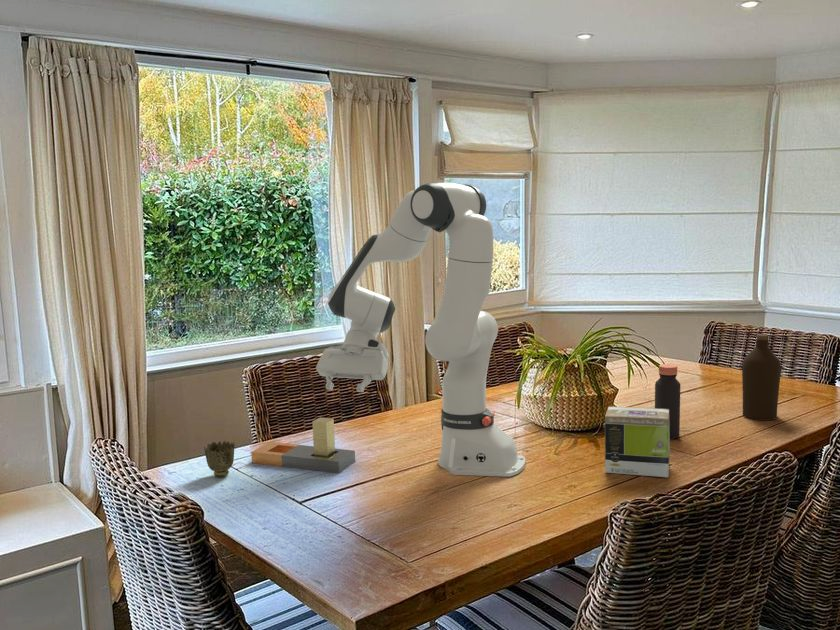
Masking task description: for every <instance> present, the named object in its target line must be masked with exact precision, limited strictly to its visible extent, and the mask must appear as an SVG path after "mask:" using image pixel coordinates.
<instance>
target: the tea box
mask: <svg viewBox="0 0 840 630" xmlns="http://www.w3.org/2000/svg"><path fill="white" fill-rule="evenodd" d="M670 440H671V439H669V409H657V408H655V407H654V408H653V407H636V406H635V407H633V406H631V407H630V406H612V405H611V406H608V407H607V410H606V413H605V415H604V467H605V468H604V469H605V473H608V474H620V475H631V476H632V475H633V476H646V477H658V478H668V479H669V474H670V473H669V472H670Z"/></svg>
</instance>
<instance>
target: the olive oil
mask: <svg viewBox="0 0 840 630" xmlns="http://www.w3.org/2000/svg"><path fill="white" fill-rule="evenodd" d="M741 373H742V376H741V377H742V383H741V384H742V416H743V417H745V418H747V419H750V420H753V421H754V420H755V421H772V420H775V419H777V416H778V404H779V394H780V393H779V391H780V385H781V384H780V382H781V374H782V365H781V362H780V359H779V358H778V356H777V355H776V354H775V353H774V352H773V351H772V350H771V348H769V334H767V333H759V334H758V333H757V334H756V339H755V347H754V348H753V349H752V350H751V351H750V352H748V354H747V355H745V357H744V359H743V361H742V364H741Z"/></svg>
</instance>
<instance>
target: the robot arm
mask: <svg viewBox="0 0 840 630" xmlns="http://www.w3.org/2000/svg"><path fill="white" fill-rule="evenodd" d="M486 210H487V200H486V196H485V195H484V193H483V192H482V191H481V190H480V189H479V188H478V187H475V186H473V185H471V184H460V183H455V182H451V181H449V182H447V181H445V182H444V181H443V182H428V183H427V182H426V183H424V184H421V185H420V186H418V187H417V188H416V189H413V190H410V191H409V192H407V193H406V194H405V195H404V196H403V197H402V200H401V201H400V202H399V204H398V206H397V208H396V209H395V211H394V213H393V214H392V217H391V219H390V221H389V224H388V225H387V227H386V228H385V229H384V230H383V231H382V232H380V233H378V234H372V235H371V236H369V238H368V239H367V240H366V241H365V243H364V245H362V246H361V248H360V250H359V251H358V253H357V255H356V256H355V257H354V259H353V261H352V262H351V264H350V265H349V267H348V268H347V270H346V271H345V273H344V274H343V275H342V277H341V278H340V280H339V281H338V282H337V283H336V284H335V285H334V286H333V287H332V289H331V291H330V293H329V296H328V299H327V305H328V307H329V309H330V311H331V313H332V314H333V315H334V316H336V317H341V318H343V319H348V320H350V321H351V322H350V328H349V330H348V331H347V333H346V335H345V337H344V338H345V339H344V341H343V343H342V346H333V345H330V346H329V347H327V348H325V349H323V352H322V355H321V356H320V358H319V360H318V361H317V364H316V366H315V369H316V371H317V373H318V374H319V376H321V377H325V380H326V384H325V385H324V386H325V388H326V389H325V390H327V391H328V390H329V391H333V389H334V386H335V384H334V383H333V380H334V378H342V379H345V378H346V379H359V380H363V381H362V382H360V383H357V385H356V388H355V389H356V391H357V392H358V393H364V391H365V388H366V387H367V386H368V385H370V384H371V382H372V381H373V380H374V381H383V380H384V379H385V378H386V376H387V372H388V369H389V368H388V366H389V362H388V360H389V357H390V354H389V352H388V350H387V347H386V346H385V345H384V344H383V342H382V341H379V340H378V339H377V338H378V336H379V334H381V333H384V332H385V331H387V330H389V329H390V327H391V325H392V324H391V323H392V319H393V316H394V313H395V311H396V306H395V304H394V301H393V299H392V298H390V297H388V296H387V295H384V294H381V293H379V292H377V291H373V290H370V289H368V288H365V287H362V286H360V285H359V284H358V281H359V280H360V279H361V277H362V276H363V274H364V273H365V271H366V269H367V268H368V267H369V266H370V265H371V264H375V263H381V262H386V263H387V262H388V263H389V262H390V263H406V262H409V261H412V260H414V259H416V258H417V257H419V256H420V255H421V253H422V252H423V250H424V249H425V246H426V245H427V243H428V241H429V238H430V236H431V234H432V231H434V232H437V233H442V232H444V231H445V232H446V234H447V236H448V239H449V245H448V246H449V247H448V254H447V255H448V256H447V265H446V275H445V282H444V283H445V284H444V289H443V294H442V297H441V300H440V303H439V306H438V309H437V312H436V315H435V317H434V320H433V322H432V324H431V325H430V327H429V328H428V329H427V331H426V333H425V337H424V340H425V343H424V344H425V347H426V350H427V353H429V354H430V356H431V357H433V358H434V359H436V360H438V361H441V362H449V363H448V365H447V369H446V372H445V373H444V375H443V378H442V383H441V385H442V390H441V391H442V409H441V410H440V411H441V415H440V426H441V430H442V436H441V446H440V452H439V456H438V460H437V464H438V465H439V467H441V468H443V469H444V470H446V471H447V472H448V473H449V474H451V475H456V476H457V475H458V476H459V475H460V476H479V477H480V476H483V477H504V478H505V477H506V478H507V477H513V476H515V475H517V474H519V473H521V472H522V471H523V470H524V469H525V467H526V466H527V460H526V457H525V456H524V455H522V454H518V450H517V445H516V442H515V439H514V438H513V437H512V436H510V435H509V434H508V433H506V432H505V431H503V429H501V428H500V427H498V425H496V424H495V421H494V420H495V418H494V417H495V416H496V414H495V413H496V411H494V410H493V411H492V412H491V411H490V410H489V409H488V408H487V376H488V375H487V373H488V369H489V363H490V359H491V354H492V348H493V345H494V343H495V341H496V338H497V337H498V333H499V326H498V323H497V320H496V319H495V318H494V316H493V315H492V314H491V313H489V312H487V311H485V310H482V308H483V305H484V303H485V301H486V299H487V298H488V296H489V293H490V290H491V281H492V271H493V261H494V232H493V231H494V229H493V225H492V222H491V221H490V219H488V218H487V217H486V216H485V214H486Z"/></svg>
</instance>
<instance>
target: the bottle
mask: <svg viewBox="0 0 840 630" xmlns="http://www.w3.org/2000/svg"><path fill="white" fill-rule="evenodd" d="M658 376H659V378H658V379H657V380H656V381H655V383H654V408H657V409H669V439H670V440H671V439H677V438H678V437H680V430H681V429H680V425H681V421H680V420H681V416H680V415H681V382H679V380H678V379H677V377H678V365H677V364H671V363H663V364H659V365H658Z"/></svg>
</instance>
